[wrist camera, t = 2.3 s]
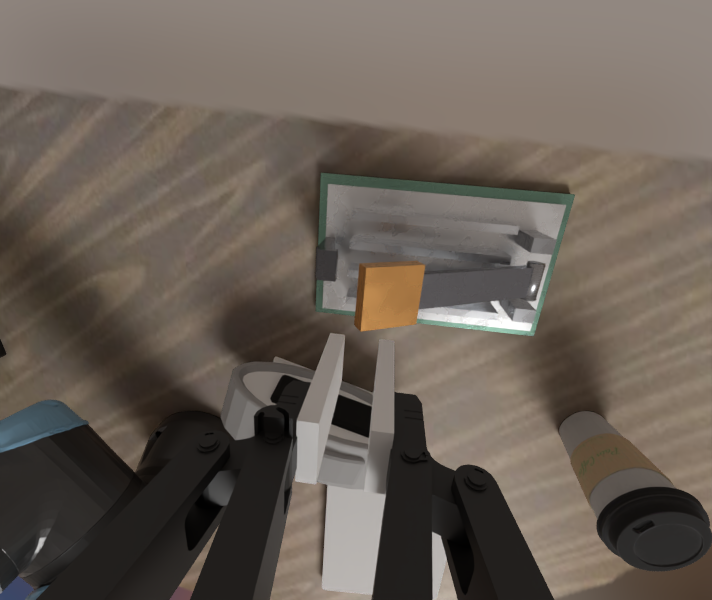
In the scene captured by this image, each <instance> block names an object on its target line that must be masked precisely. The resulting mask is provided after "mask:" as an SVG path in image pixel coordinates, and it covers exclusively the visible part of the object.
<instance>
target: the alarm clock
mask: <svg viewBox="0 0 712 600" xmlns="http://www.w3.org/2000/svg"><path fill="white" fill-rule="evenodd" d="M314 374H315V371H314V370H311V369H309V368H306V367H303V366H301V365H298V364H295V363H292V362H290V361H287V360H284V359H282V358H279V357H276V356H275V358H274V360H273V362H258V361H254V362H249V363H243V364H241V365H239V366H238V367H236V368H234V369H233V371H232V375H231V379H230V383H229V386H228V390H227V394H226V397H225V401H224V405H223V408H222V412H221V416H220V417H221V420H222V422H223V425H224V428H225V429H226V430H227V431H228V432H229V433H230V435H231V436H232V437H233V438H234V439H235V440H241V439H247V438H250V437H253V436H254V415H255V414H256V412H257V411H258V410H260V409H261V408H263V407H266V406H269V405H276V404H277V403H278V400H279V398H280V396H281V394H282V392H283V390H284V388H285V386H287V385H288V384H289V383H290V382H292V381H293V380H295V381H303V382H312V379H313V377H314ZM372 402H373V392H370V391H367V390H365V389H362V388H359V387H357V386H354V385H351V384H349V383H347V382H344V381H342V382H341V386H340V390H339V394H338V398H337V402H336V406H335V410H334V414H333V418H332V422H331V426H330V430H329V434H328V438H327V442H326V446H325V450H324V454H323V458H322V463H321V467H320V471H319V475H318V479H317V482H319V483H322V484H326V485H330V486H336V487H342V488H347V489H362V490H364V486H365V475H366V465H367V454H368V444H369V433H370V423H371V412H372ZM295 475H296V472H295Z"/></svg>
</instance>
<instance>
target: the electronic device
mask: <svg viewBox="0 0 712 600" xmlns="http://www.w3.org/2000/svg"><path fill="white" fill-rule="evenodd" d="M385 497H386V492H385V494H378V493H371V492H364V490H362V489H347V488H342V487H336V486H330V485H328V486H327V504H326V521H325V539H324V557H323V575H322V588H323V589H324V590H329V591H339V592H349V593H359V594H369V595H372V593H373V585H374V578H375V571H376V563H377V556H378V548H379V541H380V533H381V526H382V517H383V510H384V504H385ZM446 560H447V558H446V554H445V550H444V547H443V543H442V539H441V536H440V535H438V534H436V533H434V532H432V576H433V600H436V599H437V596H438V592H439V588H440V584H441V580H442V576H443V572H444V568H445V564H446Z"/></svg>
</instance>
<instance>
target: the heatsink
mask: <svg viewBox="0 0 712 600" xmlns="http://www.w3.org/2000/svg"><path fill="white" fill-rule="evenodd" d="M574 197H575V195H574V194H565V193H554V192H542V191H530V190H519V189H507V188H495V187H484V186H472V185H460V184H449V183H437V182H425V181H414V180H402V179H390V178H379V177H367V176H356V175H344V174H332V173H321V184H320V210H319V236H318V246H317V250H316V277H317V288H316V312H325V313H334V314H342V315H351V316H355V309H356V298H357V286H358V274H359V263H376V262H398V261H418V262H420V263H422V264H425V271H439V270H455V269H472V268H488V267H504V266H521V265H527V261H538V262H542V263H545V264H546V266H545V269H544V273H543V276H542V280H541V283H540V287H539V291H538V294H537V298H536V301H526V300H523V299H520V298H516V299H508V300H499V301H490V302H481V303H472V304H463V305H454V306H445V307H437V308H428V309H419V310H418V316H417V322H416V323H422V324H431V325H440V326H448V327H457V328H466V329H475V330H484V331H493V332H501V333H510V334H519V335H528V336H534V333H535V330H536V327H537V323H538V320H539V316H540V313H541V309H542V306H543V303H544V299H545V296H546V292H547V289H548V286H549V282H550V279H551V275H552V272H553V268H554V265H555V262H556V258H557V255H558V251H559V248H560V244H561V241H562V238H563V234H564V231H565V227H566V224H567V221H568V217H569V214H570V210H571V207H572V203H573V200H574Z"/></svg>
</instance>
